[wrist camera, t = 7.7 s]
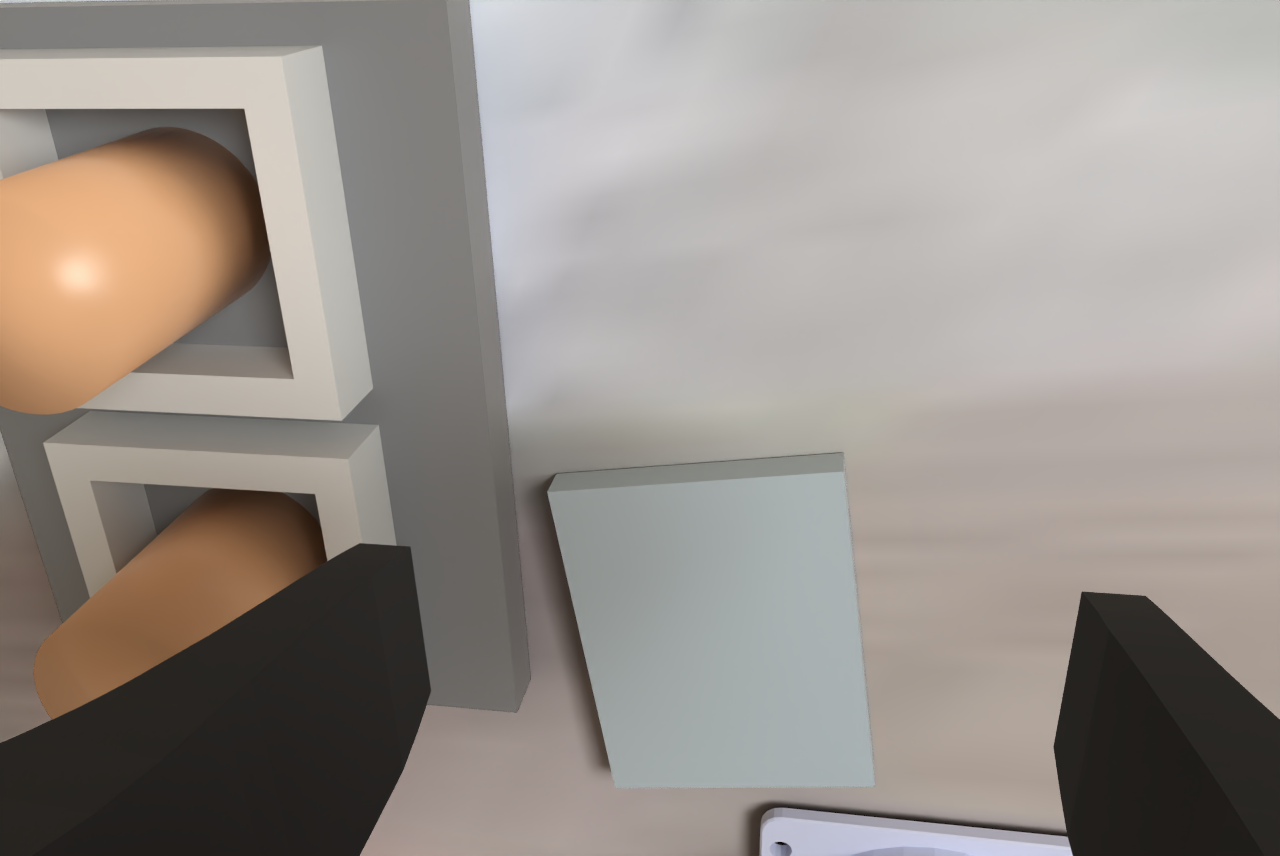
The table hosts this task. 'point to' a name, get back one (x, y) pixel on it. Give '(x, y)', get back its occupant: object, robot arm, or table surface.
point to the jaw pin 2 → (179, 592)
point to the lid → (720, 621)
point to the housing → (296, 303)
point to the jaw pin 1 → (119, 260)
